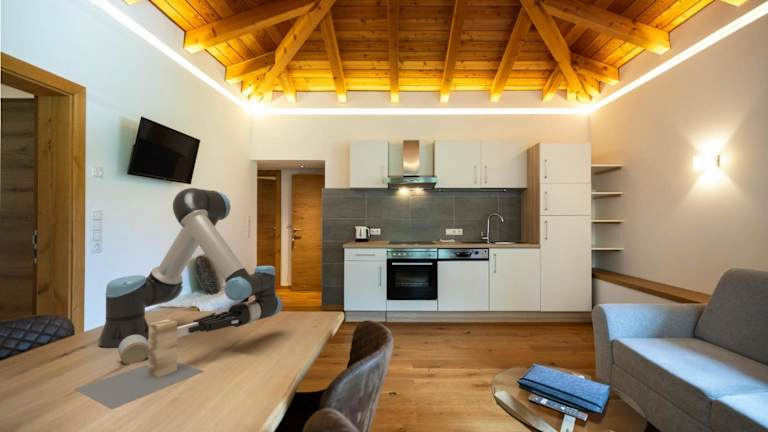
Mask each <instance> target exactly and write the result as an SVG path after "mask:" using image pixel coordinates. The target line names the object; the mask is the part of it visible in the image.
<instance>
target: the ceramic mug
mask: <svg viewBox="0 0 768 432" xmlns="http://www.w3.org/2000/svg"><path fill="white" fill-rule="evenodd" d="M117 349H118V350H117V351H118V355H119V358H120V361H121V362H122V363H123V364H125V365H131V364H135V363H139V362H140V363H141V362H144V361H145V360H146V359H148V355H149V340H148V339H146V338H145V337H143V336H141V335H131V336H128V337H126V338H125V339H124V340H122V342H121V343H120V345H119V347H117Z"/></svg>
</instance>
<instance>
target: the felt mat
mask: <svg viewBox="0 0 768 432" xmlns="http://www.w3.org/2000/svg"><path fill="white" fill-rule="evenodd" d="M204 372H205V370H202V369H198V368H196V367H193V366H189V365H187V364H184V363H180V362H178V361H177V371H175V372H172V373H170V374H167V375H164V376H162V377H159V378H157V377H155V376H152V375H149V374H148V363H147V364H145V365H144V364H143V365H142V366H139V367H136V368H133V369H130V370H129V369H128V370H126V371H123V372H121V373H118V374H114V375H112V376H109V377H106V378H102V379H100V380H97V381H93V382H90V383H88V384H85V385H82V386H79V387H75V388H74V391H77V392H78V393H80V394H83V395H84V396H86V397H88V398H90V399H92V400H94V401H96V402H98V403H99V404H101V405H103V406H105V407H107V408H108V409H111V410H114V409H117V408H119V407H122V406H123V405H126V404H129V403H131V402H133V401H136V400H138V399H141V398H143V397H147V396H149V395H151V394H153V393H156V392H158V391H161V390H163V389H165V388H168V387H171V386H172V385H175V384H177V383H179V382H182V381H185V380H187V379H190V378H192V377H195V376H197V375H199V374H202V373H204Z"/></svg>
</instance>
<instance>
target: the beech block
mask: <svg viewBox="0 0 768 432" xmlns="http://www.w3.org/2000/svg"><path fill="white" fill-rule="evenodd" d="M148 326H149V338H148V345H149V355H148V358H147V360H148V363H147V364H148V374H149V375H152V376H155V377H157V378H159V377H162V376H164V375H167V374H170V373H172V372H175V371H177V362H178V338H177V327H178V321H176V320H173V319H172V320H171V319H164V320H159V321H156V322H150V323H148Z"/></svg>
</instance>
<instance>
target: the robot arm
mask: <svg viewBox="0 0 768 432" xmlns="http://www.w3.org/2000/svg"><path fill="white" fill-rule="evenodd" d="M172 202H173V203H172V211H173V214H174V216H175V219H176V220H177V222H178V223H179V225H180V226H181V229H180V230H179V232H178V234H177V236H176V238H175V239H174V241H173V242H172V244H171V246H170V247H169V249H168V251H167V252H166V255H165V256H164V257H163V258H162V259H163V260H162V261H161V262H160V264H159V265H158V266H155V267H154V268H152V269H151V271H150V272H149V274H148V276H147V277H146V276H145V275H142V274H135V275H134V274H133V275H128V276H122V277H118V278H115V279H112V280H110V281H109V282H108V283H107V284H106V290H105V294H104V295H105V323H104V326H103V328H102V330H101V333H100V336H99V339H98V346H99V345H100V346H103V347H102V348H118V347H119V345H120V343H121V342H122V340H124V339H125V338H126V337H128V336H131V335H141V336H143V337H145V338H146V339H147V340H149V323H148V322H147V319H146V308H149V307H152V306H156V305H161V304H165V303H169V302H171V301H174V300H175V299H177V298H178V297H179V296H180V295H181V294H182V291H183V287H184V286H183V284H184V283H183V282H184V281H183V275H182V273H183V272H184V270H185V268H187V265H188V263H189V261H190V260H191V258H192V257H193V255H195V252H196V251H197V249H198V247H200V249H201V250H202V251H203V253H204V254H205V256H206V257H207V258H208V259H209V262H211V264H212V265H213V266H214V268H215V270H216V271H217V272H218V274H219V275H220V276H221V277H222V279H223V280H224V282H225V285H224V291H225V296H226V297H227V299H229V300H231V301H236V302H237V301H241V300H246V299H247V298H250V297H252V296H254V299H253V300H250V301H249V300H248V301H243V302H241V303H237V304H234V305H233V304H232V305H231V306H230V307H229V309H228V311H227V310H226V311H222V312H221V313H218V314H217V313H216V312H213V313H210V314H208V315H205V316H202V317H200V318H196V319H194V320H193V321H192V322H191V323H187V324H185V325H180V326H177V339H179V338H181V337H184V336H188V335H192V334H195V333H199V332H205V333H207V332H208V333H209V332H211V331H216V330H221V329H224V328H225V329H226V328H229V327H234V328H238V327H241V326H244V325H247V324H249V325H252V324H253V322H256V321H261V320H263V319H266V318H271V317H273V316H275V315H277V314H280V312H281V311H282V308H283V302H282V299H281V297H280V296H279V295H276V292H277V291H276V290H277V289H276V285H277V283H276V278H277V274H276V268H275V266H273V265H259V266H256V267H255V268H254V272H253V273H251V274H250V273H249V272H248V271H247V269H246V268H245V267H244V265H243V264H242V262H241V261H240V260H239V259H238V257H237V255H236V254H235V253H234V251H233V250H232V249H231V248H230V246H229V244H228V243H227V242H226V240H225V239H224V237H223V236H222V235H221V233H220V232H219V231H218V230H217V228H216V225H217V223H218V222H219V221H223V220H224V219H226V218H227V217H228V216H229V215H230V213H231V204H230V199H229V198H228V196H227V195H226V194H224V193H223V192H220V191H217V190H211V189H200V188H198V187H197V188H196V187H195V188H194V187H190V188H189V187H188V188H184V189H182V190H180V191H179V192H178V193H177V194H176V195H175V197H174V199H173V201H172ZM100 346H99V347H100Z"/></svg>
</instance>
